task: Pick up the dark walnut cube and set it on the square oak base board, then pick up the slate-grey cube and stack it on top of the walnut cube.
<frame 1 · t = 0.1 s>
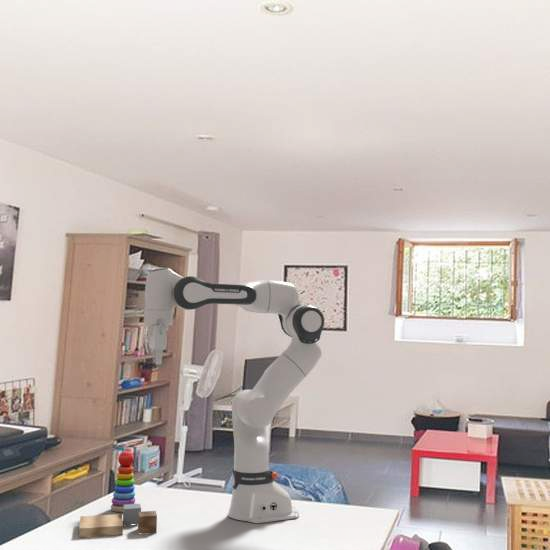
hand: (157, 364, 200), 48 cm above the table, tool pointing down, fingers open, 8 cm apart
base board: (100, 529, 187), on the table
walnut block: (147, 531, 186), on the table
slate block: (131, 523, 194), on the table
stacking toy: (123, 510, 208), on the table
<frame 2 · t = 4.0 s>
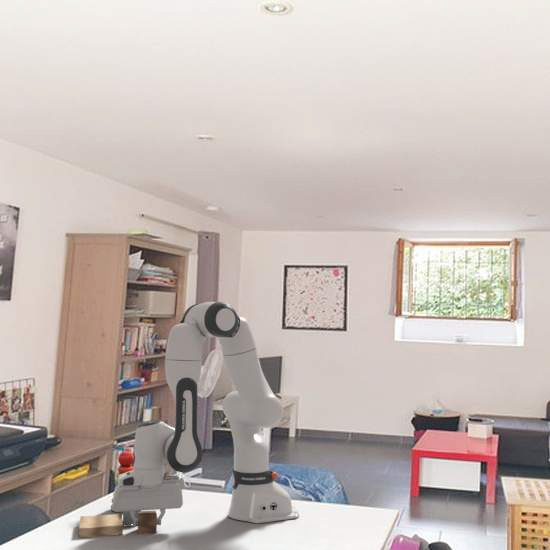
hand: (147, 525, 186), 2 cm above the table, tool pointing down, fingers closed on walnut block, 5 cm apart
walnut block: (147, 530, 186), on the table, touching gripper
everything else where it was.
when the fingers open (5 cm above the table, at t = 9.3 s): walnut block stays where it is, resting on base board.
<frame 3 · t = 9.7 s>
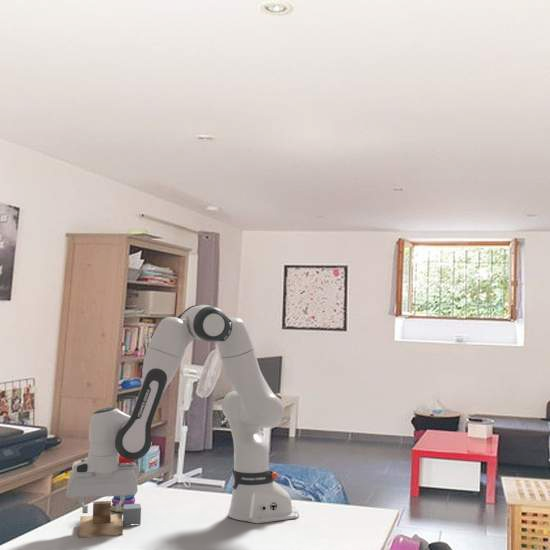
hand: (101, 511, 187), 5 cm above the table, tool pointing down, fingers open, 8 cm apart
walnut block: (101, 520, 187), point 2 cm above the table, touching base board
everything else where it was.
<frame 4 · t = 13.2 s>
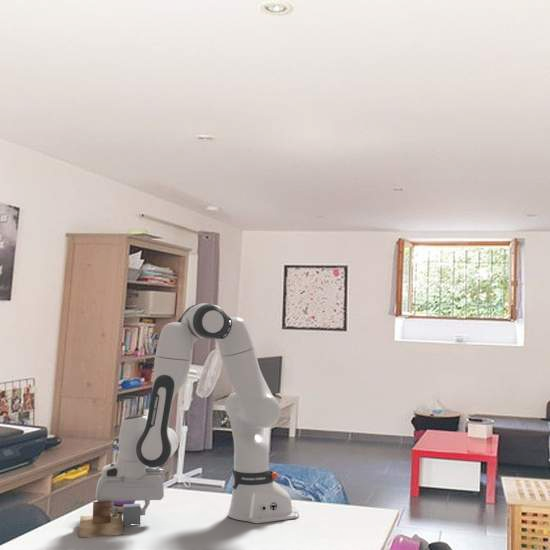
hand: (128, 515, 193), 2 cm above the table, tool pointing down, fingers open, 7 cm apart
nothing on the table moved.
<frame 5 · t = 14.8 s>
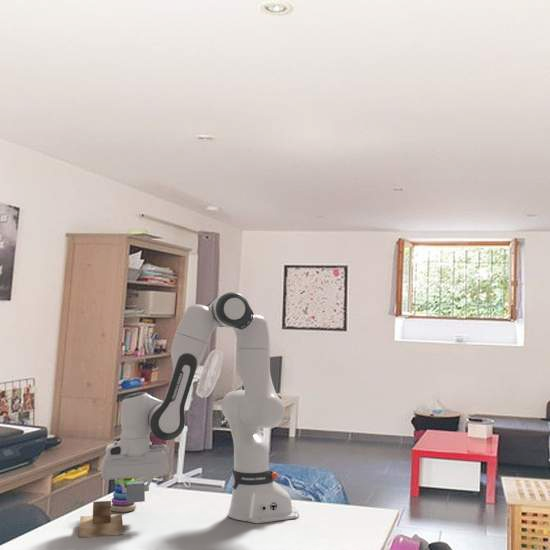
hand: (135, 491, 195), 9 cm above the table, tool pointing down, fingers closed on slate block, 5 cm apart
slate block: (135, 500, 195), point 6 cm above the table, touching gripper
everything else where it was.
when the fingers open (10 cm above the table, at t = 19.1 s): slate block stays where it is, resting on walnut block.
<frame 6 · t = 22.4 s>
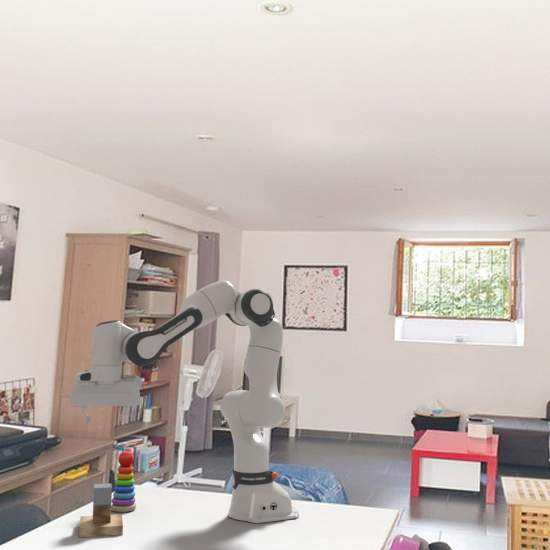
hand: (104, 421, 190), 31 cm above the table, tool pointing down, fingers open, 8 cm apart
walnut block: (101, 520, 187), point 2 cm above the table, touching base board, slate block
slate block: (102, 503, 188), point 7 cm above the table, touching walnut block
everything else where it was.
at the end: walnut block inside the target area on the base board (0.1 cm from its centre), point 2.5 cm above the base board's base; slate block 0.3 cm off-centre on the walnut block, point 5.0 cm above the walnut block's base; slate block point 7.5 cm above the table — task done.
